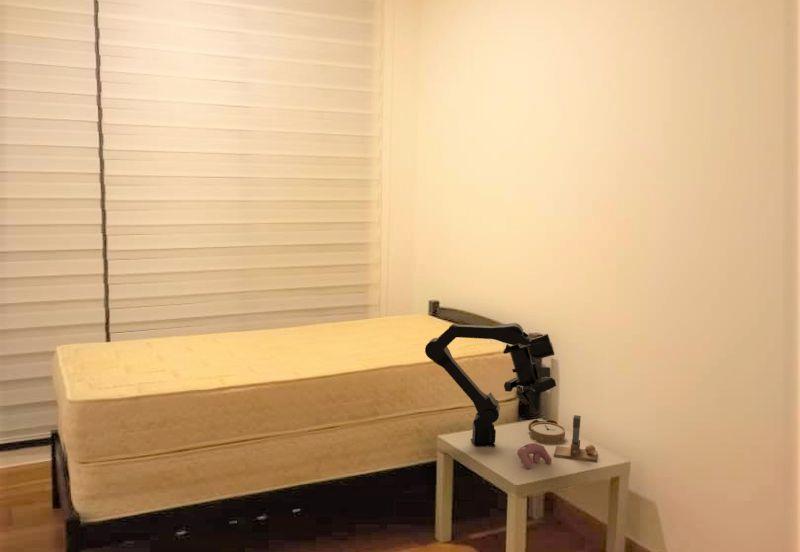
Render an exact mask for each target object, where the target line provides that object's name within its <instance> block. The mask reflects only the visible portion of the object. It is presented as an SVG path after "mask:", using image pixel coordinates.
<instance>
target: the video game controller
mask: <svg viewBox="0 0 800 552" xmlns="http://www.w3.org/2000/svg"><path fill="white" fill-rule="evenodd" d="M531 455H532V456H531ZM517 457H518V459H519V460H520V462H521V464H522V466H523V467H525V469H527V470H530V469H531V468H532V467H531V465H532V463H533V462H534V463H536V464H538V463H540V462H541V460H542V459H543V461H545V463H546V464H548V465H551V464H552V461H553V460H552V457H551V455H550V454H549V453H548V451H547V450H546V448H545V447H544V446H543V445H542V443H528V444H524V445H523V446H521V447H520V448H518V450H517Z"/></svg>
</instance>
